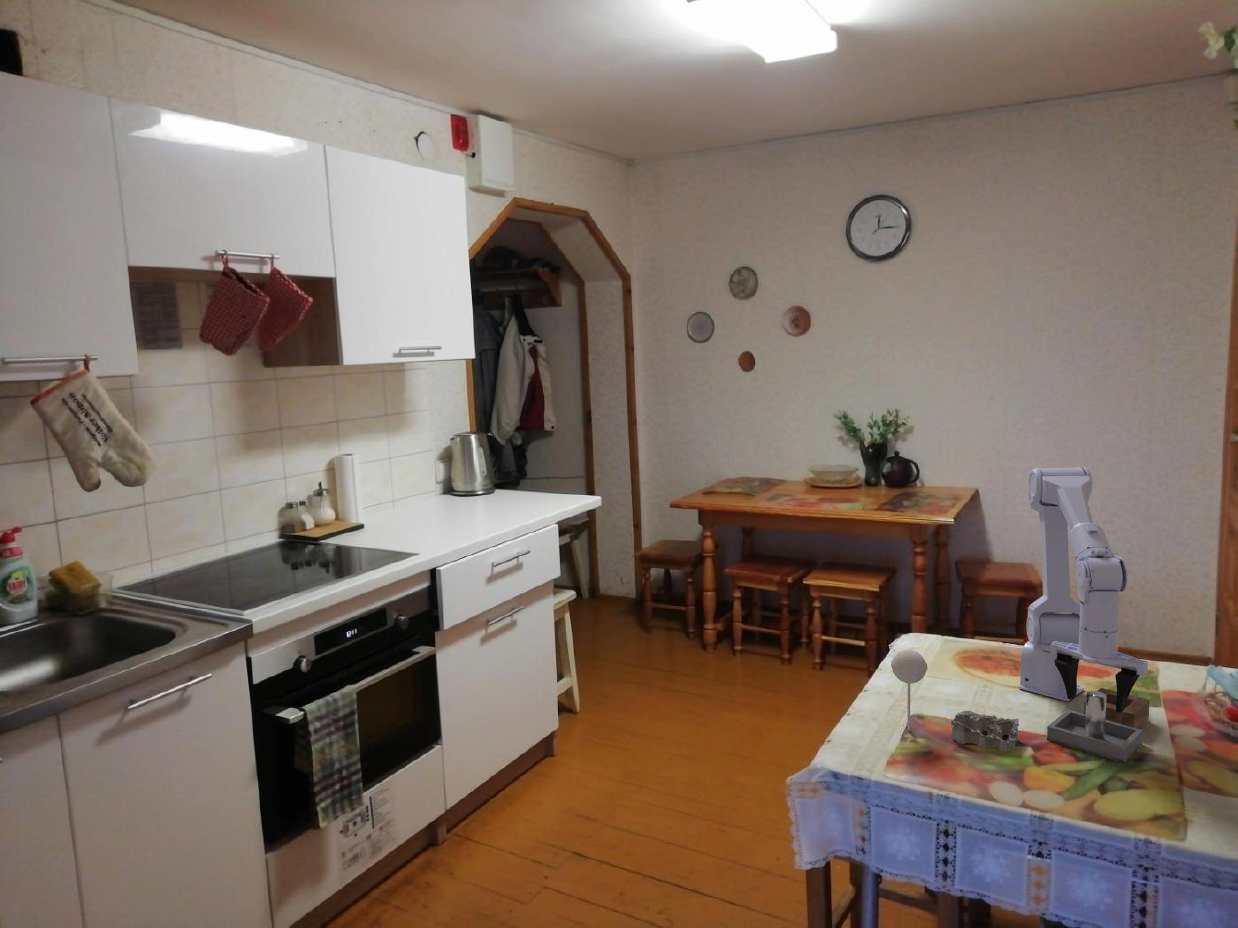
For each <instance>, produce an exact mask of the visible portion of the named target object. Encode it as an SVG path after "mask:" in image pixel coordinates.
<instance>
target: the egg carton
mask: <svg viewBox="0 0 1238 928" xmlns="http://www.w3.org/2000/svg"><path fill="white" fill-rule="evenodd" d="M950 724H951V740H954V741H956V742H957V743H958V744H960V745H965V744H968V743H969V744H971V743H972V744H974V745H977V747H979V748H985V749H986V748H988V747H991V748H992V747H993V748H996V749H997V750H999V751H1000V752H1003V753H1007V752H1009V751H1013V752H1014V751H1016V743H1017V742H1018V733H1019V732H1018V728H1019V725H1020V721H1019V718H1006V719H1005V718H1003V717H999V718H998V716H996V715H987V714H979V713H977V712H973V711H971V710H963V711H960V712H957V713H956V715H955V716H954V718H953V720H951V723H950ZM983 732H987V735H984V734H982V733H983ZM1005 735H1006V736H1008V737H1007V739H1006V740H1004V739H1003V736H1005Z"/></svg>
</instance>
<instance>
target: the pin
mask: <svg viewBox="0 0 1238 928" xmlns="http://www.w3.org/2000/svg"><path fill="white" fill-rule="evenodd" d="M1085 700H1086V716H1085V735H1086V736H1089V737H1093V738H1096V739H1100V740H1103V741H1105V720H1106V694H1104V693H1102V692H1098V690H1090V691H1087V692H1086V693H1085Z"/></svg>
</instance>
